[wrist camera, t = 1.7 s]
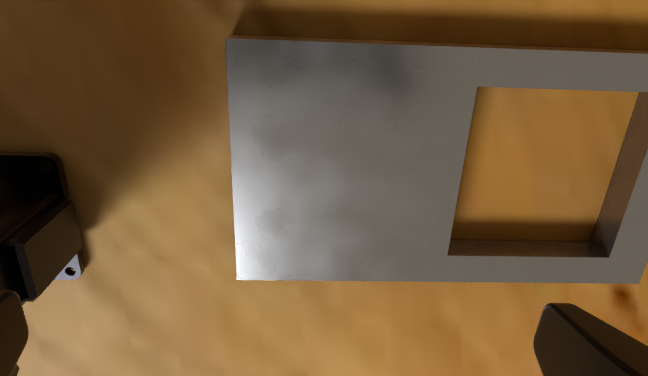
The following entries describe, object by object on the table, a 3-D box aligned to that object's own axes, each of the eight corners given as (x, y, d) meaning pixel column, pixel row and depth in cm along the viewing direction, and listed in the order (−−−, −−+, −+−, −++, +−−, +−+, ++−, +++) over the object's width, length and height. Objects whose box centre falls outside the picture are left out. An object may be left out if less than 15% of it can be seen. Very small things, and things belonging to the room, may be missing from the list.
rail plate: (241, 262, 22) (237, 279, 21) (231, 34, 18) (225, 38, 17) (619, 266, 23) (638, 283, 22) (697, 52, 19) (728, 56, 18)
